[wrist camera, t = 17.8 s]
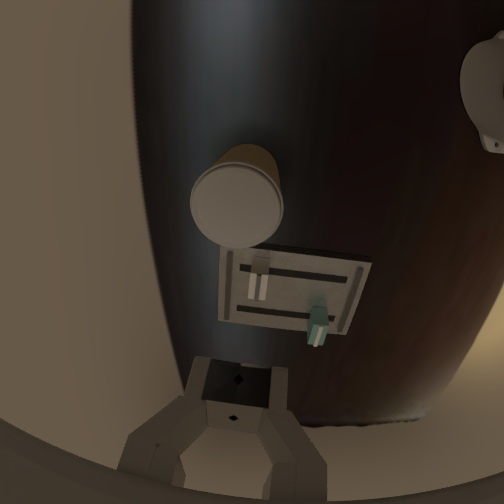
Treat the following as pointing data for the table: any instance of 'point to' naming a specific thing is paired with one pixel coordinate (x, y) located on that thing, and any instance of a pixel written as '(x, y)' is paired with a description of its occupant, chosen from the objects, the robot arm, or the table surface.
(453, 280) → the table surface
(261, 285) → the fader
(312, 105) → the table surface
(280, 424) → the robot arm
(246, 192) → the coffee cup
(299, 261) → the console
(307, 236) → the table surface
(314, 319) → the fader
